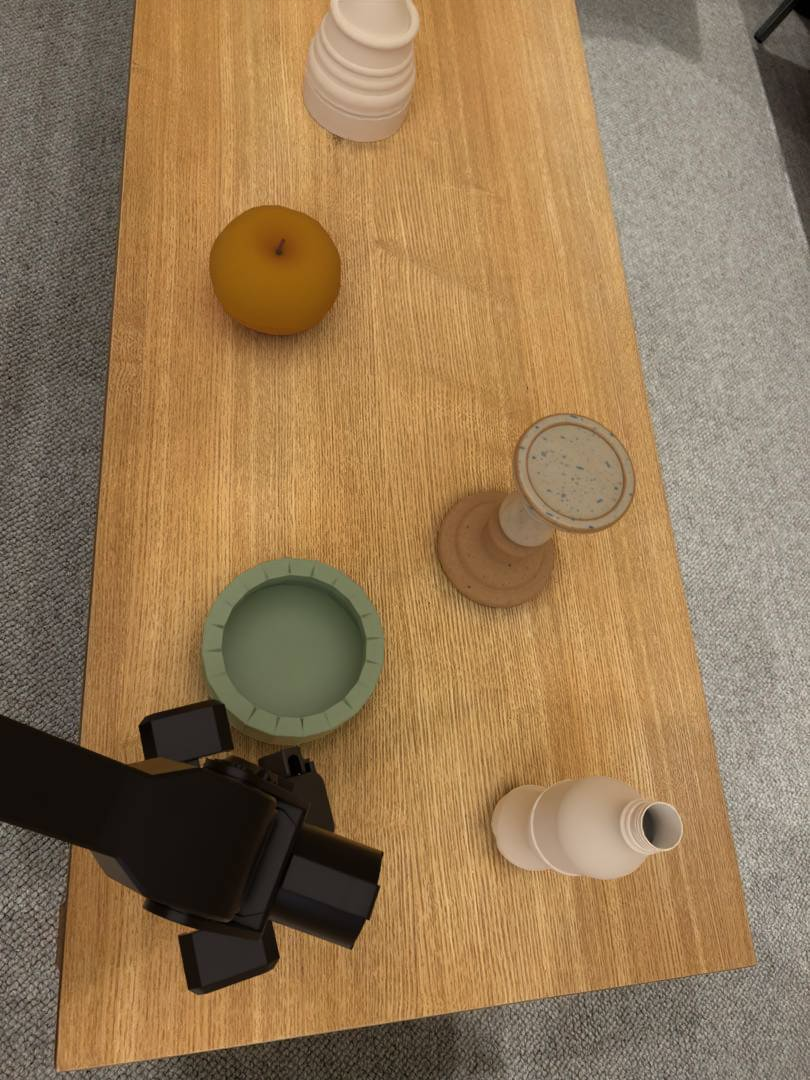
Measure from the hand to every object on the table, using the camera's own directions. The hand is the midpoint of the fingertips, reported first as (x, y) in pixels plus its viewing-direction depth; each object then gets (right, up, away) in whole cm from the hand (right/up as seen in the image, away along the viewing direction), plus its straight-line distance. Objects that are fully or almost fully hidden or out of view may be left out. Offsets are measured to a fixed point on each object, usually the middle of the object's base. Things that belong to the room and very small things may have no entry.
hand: (207, 837), depth 65 cm
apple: (+1, +48, +22) cm, 53 cm away
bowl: (+5, +13, +10) cm, 17 cm away
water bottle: (+26, -3, +10) cm, 28 cm away
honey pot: (+10, +77, +34) cm, 85 cm away
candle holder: (+25, +23, +18) cm, 38 cm away
